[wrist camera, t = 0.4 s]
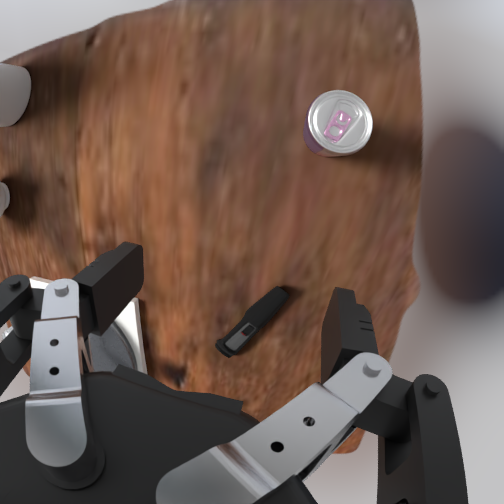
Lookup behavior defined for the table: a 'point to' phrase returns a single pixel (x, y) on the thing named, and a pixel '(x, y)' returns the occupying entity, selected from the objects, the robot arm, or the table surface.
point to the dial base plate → (119, 324)
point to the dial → (107, 349)
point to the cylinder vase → (13, 93)
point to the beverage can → (337, 124)
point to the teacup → (4, 197)
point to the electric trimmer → (252, 322)
